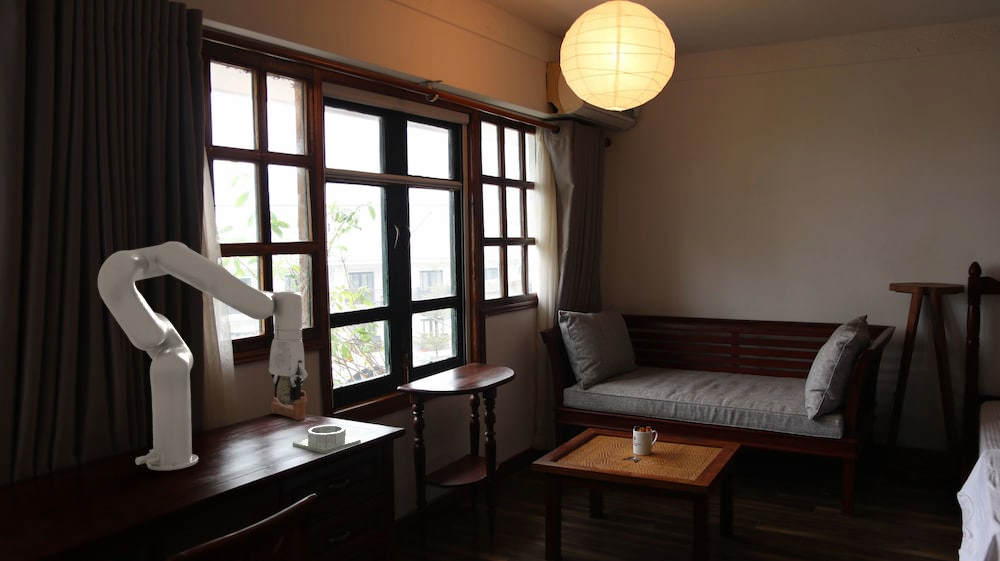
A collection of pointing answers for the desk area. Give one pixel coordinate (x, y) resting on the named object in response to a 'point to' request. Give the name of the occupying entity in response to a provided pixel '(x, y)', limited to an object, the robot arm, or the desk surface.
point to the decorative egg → (284, 390)
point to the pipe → (291, 407)
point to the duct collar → (326, 439)
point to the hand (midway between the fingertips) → (287, 397)
